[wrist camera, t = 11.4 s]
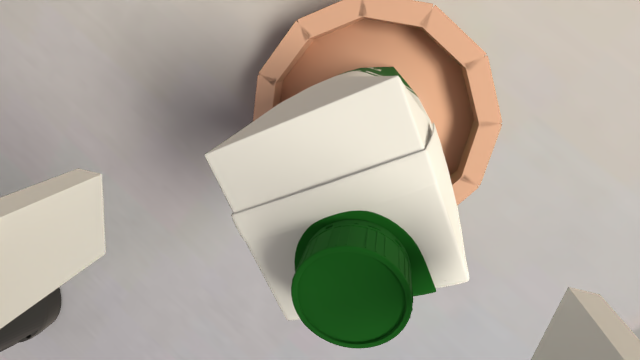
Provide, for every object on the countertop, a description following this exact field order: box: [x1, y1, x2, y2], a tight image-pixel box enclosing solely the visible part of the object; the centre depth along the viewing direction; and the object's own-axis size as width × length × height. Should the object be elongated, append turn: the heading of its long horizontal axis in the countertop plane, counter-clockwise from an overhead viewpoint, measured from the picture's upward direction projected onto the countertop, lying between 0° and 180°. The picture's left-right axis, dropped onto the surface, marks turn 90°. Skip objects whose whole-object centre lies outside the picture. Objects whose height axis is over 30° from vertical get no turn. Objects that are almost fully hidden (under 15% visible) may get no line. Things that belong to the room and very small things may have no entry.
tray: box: [253, 0, 502, 205], centre depth 29 cm, size 19×19×3 cm
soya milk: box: [205, 67, 469, 348], centre depth 20 cm, size 9×9×20 cm
